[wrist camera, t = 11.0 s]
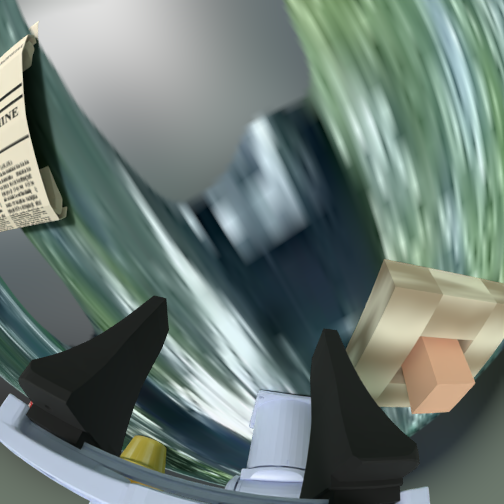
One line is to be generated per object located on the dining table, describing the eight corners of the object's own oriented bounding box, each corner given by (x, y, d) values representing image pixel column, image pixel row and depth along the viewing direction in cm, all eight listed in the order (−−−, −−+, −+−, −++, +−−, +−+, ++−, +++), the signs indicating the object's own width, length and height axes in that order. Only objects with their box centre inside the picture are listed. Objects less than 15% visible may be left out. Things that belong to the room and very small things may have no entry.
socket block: (441, 381, 27) (448, 405, 24) (332, 376, 28) (333, 404, 25) (506, 284, 20) (523, 307, 17) (384, 259, 21) (395, 286, 18)
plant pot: (180, 445, 44) (165, 490, 35) (172, 458, 49) (160, 496, 40) (126, 423, 43) (107, 466, 35) (126, 439, 48) (110, 476, 40)
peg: (431, 353, 24) (448, 411, 18) (397, 351, 24) (411, 413, 18) (450, 324, 22) (475, 382, 16) (415, 320, 22) (437, 384, 16)
